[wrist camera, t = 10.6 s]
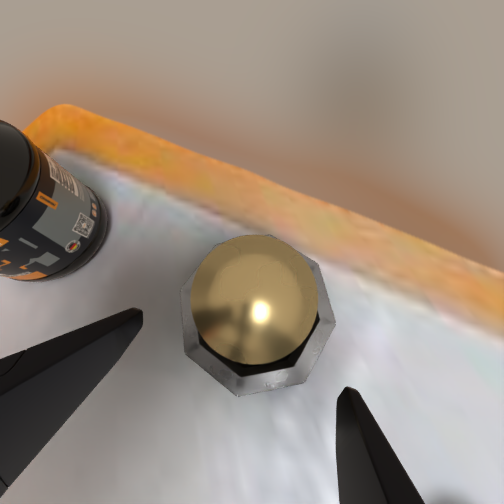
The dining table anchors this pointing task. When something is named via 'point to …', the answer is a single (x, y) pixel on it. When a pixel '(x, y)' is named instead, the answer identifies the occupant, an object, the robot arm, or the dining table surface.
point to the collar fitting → (268, 374)
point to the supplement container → (43, 213)
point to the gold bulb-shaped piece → (254, 299)
